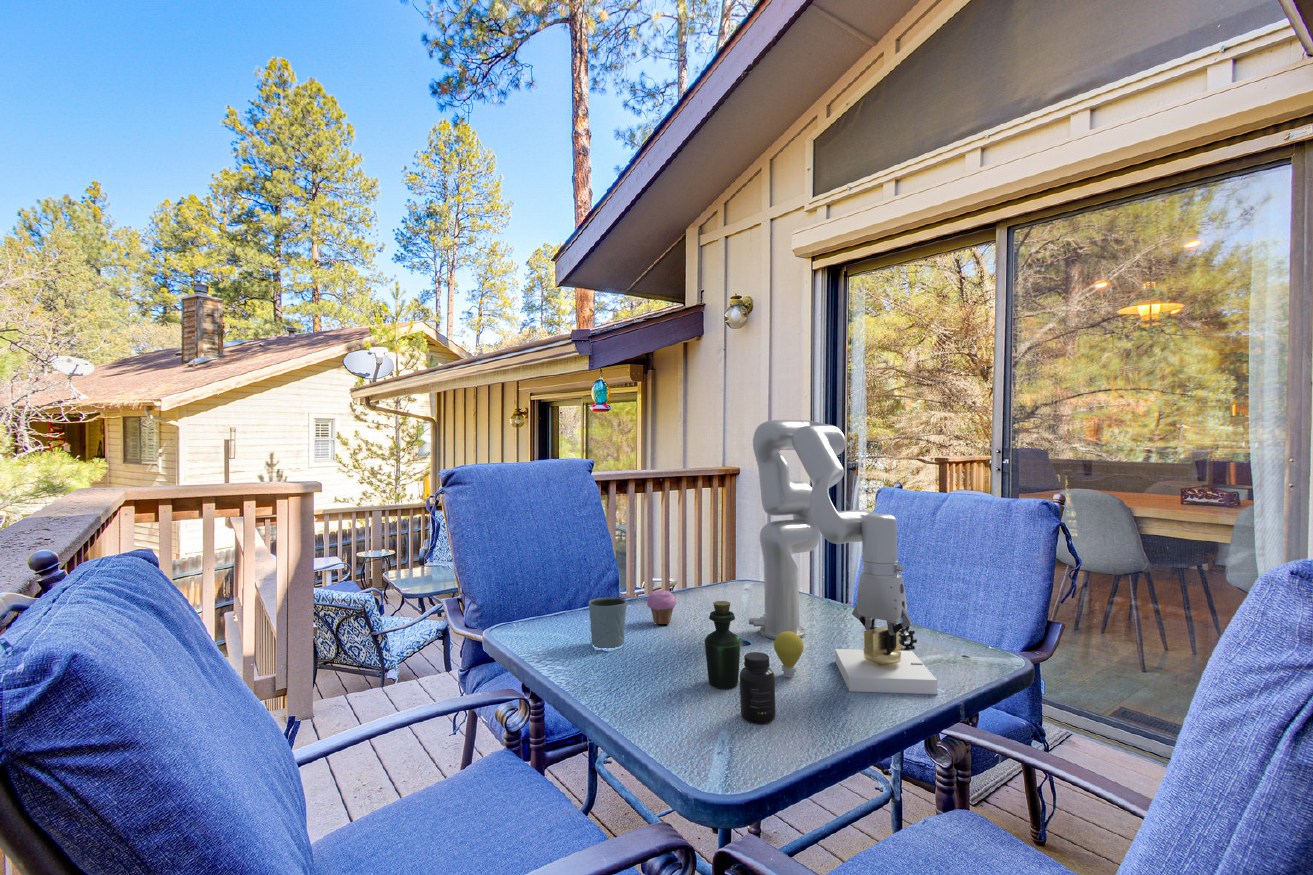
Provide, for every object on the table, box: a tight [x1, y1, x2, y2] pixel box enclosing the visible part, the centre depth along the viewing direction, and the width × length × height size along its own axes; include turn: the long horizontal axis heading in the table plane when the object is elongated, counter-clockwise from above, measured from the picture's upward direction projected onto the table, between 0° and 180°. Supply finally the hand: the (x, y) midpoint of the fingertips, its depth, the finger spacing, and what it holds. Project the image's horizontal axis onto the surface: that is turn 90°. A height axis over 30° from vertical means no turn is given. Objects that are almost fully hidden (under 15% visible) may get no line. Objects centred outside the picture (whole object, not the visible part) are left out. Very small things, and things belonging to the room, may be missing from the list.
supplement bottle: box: [739, 651, 777, 725], centre depth 118 cm, size 7×7×12 cm
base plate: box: [834, 648, 938, 695], centre depth 137 cm, size 18×18×3 cm
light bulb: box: [773, 631, 804, 678], centre depth 139 cm, size 7×7×10 cm
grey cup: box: [588, 596, 628, 648], centre depth 162 cm, size 10×10×12 cm
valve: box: [875, 625, 918, 651], centre depth 153 cm, size 7×7×12 cm
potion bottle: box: [703, 600, 742, 690], centre depth 135 cm, size 8×8×18 cm
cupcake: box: [646, 589, 677, 625], centre depth 181 cm, size 9×9×10 cm
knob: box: [863, 624, 904, 664], centre depth 138 cm, size 11×8×8 cm
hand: (881, 648), depth 137 cm, fingers closed on knob, 3 cm apart
